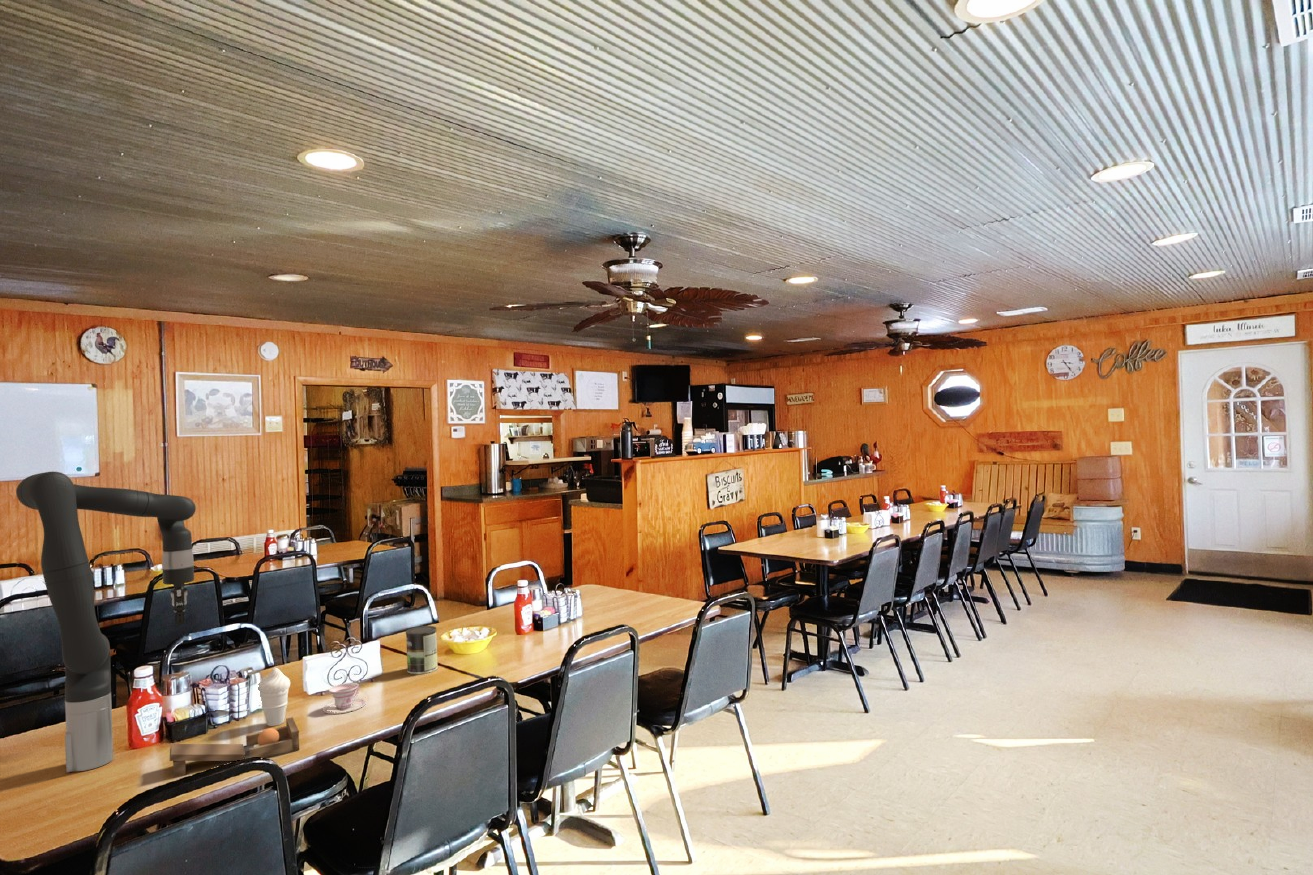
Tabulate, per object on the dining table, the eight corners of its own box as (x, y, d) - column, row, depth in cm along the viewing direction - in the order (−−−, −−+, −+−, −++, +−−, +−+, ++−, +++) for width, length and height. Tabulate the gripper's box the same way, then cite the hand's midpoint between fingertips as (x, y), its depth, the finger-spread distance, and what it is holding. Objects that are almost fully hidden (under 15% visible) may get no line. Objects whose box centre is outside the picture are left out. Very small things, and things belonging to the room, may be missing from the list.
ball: (266, 755, 187) (284, 740, 190) (254, 741, 186) (272, 727, 188) (264, 749, 192) (282, 734, 194) (252, 735, 190) (270, 721, 192)
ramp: (170, 778, 175) (169, 754, 175) (170, 766, 182) (169, 744, 182) (245, 760, 184) (244, 737, 184) (243, 749, 190) (242, 728, 190)
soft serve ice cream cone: (252, 726, 206) (250, 670, 207) (279, 716, 214) (277, 661, 214) (271, 730, 203) (269, 673, 203) (298, 720, 210) (296, 664, 210)
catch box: (246, 762, 182) (245, 742, 182) (243, 747, 192) (242, 728, 192) (299, 749, 188) (298, 730, 189) (293, 735, 199) (292, 717, 199)
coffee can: (409, 676, 247) (407, 634, 247) (405, 668, 256) (404, 628, 256) (440, 671, 251) (438, 630, 251) (435, 663, 261) (434, 624, 261)
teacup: (335, 717, 211) (334, 696, 211) (315, 709, 219) (314, 689, 219) (373, 705, 220) (372, 684, 220) (353, 697, 228) (352, 678, 228)
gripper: (194, 567, 204) (196, 624, 204) (193, 561, 216) (195, 615, 216) (161, 570, 200) (163, 629, 200) (162, 564, 212) (164, 620, 212)
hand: (180, 622), depth 208 cm, fingers open, 8 cm apart
